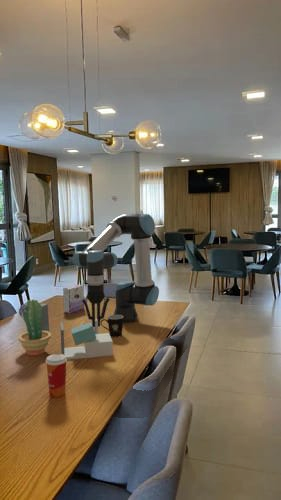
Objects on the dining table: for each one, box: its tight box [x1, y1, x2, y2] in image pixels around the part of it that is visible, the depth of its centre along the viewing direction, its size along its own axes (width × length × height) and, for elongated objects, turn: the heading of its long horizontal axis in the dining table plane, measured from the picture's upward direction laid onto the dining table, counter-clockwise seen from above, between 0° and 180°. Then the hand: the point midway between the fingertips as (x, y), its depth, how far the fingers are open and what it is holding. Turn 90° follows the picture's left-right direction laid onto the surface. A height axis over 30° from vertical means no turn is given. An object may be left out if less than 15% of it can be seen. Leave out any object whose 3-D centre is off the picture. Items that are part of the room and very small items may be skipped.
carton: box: [70, 321, 96, 346], centre depth 178 cm, size 10×7×6 cm
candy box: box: [62, 284, 85, 315], centre depth 252 cm, size 14×6×16 cm, turn 144°
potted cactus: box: [17, 299, 52, 356], centre depth 180 cm, size 15×15×25 cm
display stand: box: [59, 321, 114, 361], centre depth 179 cm, size 23×12×14 cm, turn 104°
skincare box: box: [40, 303, 50, 332], centre depth 207 cm, size 8×7×16 cm
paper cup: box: [45, 353, 68, 398], centre depth 140 cm, size 8×8×14 cm
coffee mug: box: [100, 314, 124, 338], centre depth 204 cm, size 12×9×10 cm
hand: (96, 333), depth 179 cm, fingers closed
